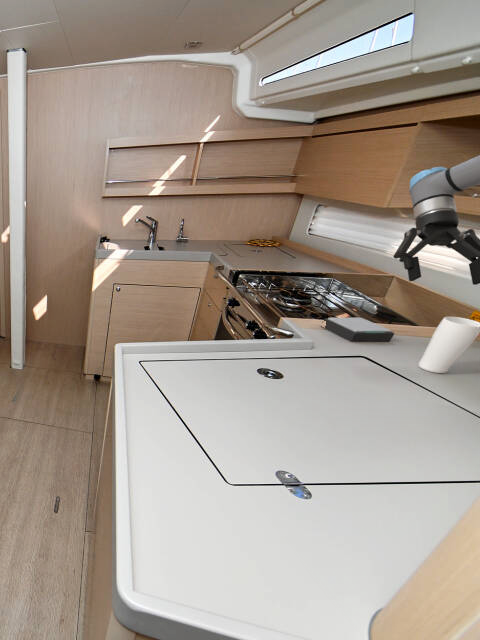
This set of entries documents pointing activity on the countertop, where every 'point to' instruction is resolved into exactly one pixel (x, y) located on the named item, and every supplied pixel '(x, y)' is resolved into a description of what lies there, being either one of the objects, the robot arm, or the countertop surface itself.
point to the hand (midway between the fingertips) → (447, 280)
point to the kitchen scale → (358, 330)
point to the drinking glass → (448, 343)
